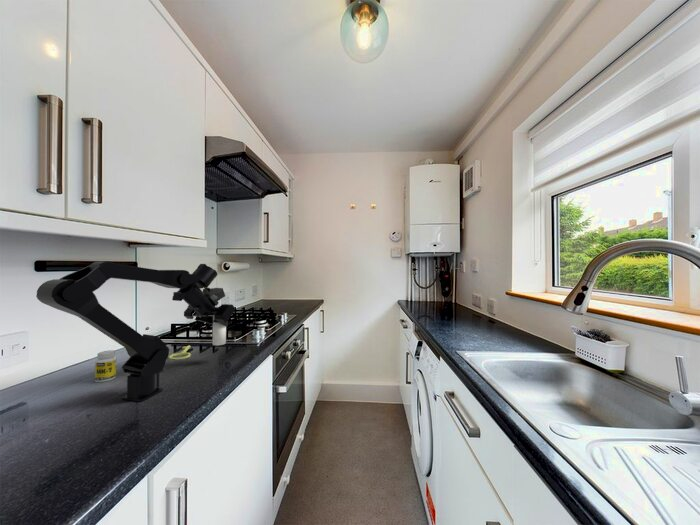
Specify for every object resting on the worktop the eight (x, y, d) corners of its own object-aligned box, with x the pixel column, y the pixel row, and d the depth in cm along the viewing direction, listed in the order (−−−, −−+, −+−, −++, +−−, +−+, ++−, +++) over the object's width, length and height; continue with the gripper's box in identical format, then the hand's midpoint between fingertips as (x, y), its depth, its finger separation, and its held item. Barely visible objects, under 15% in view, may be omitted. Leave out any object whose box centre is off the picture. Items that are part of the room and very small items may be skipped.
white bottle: (220, 345, 92) (221, 308, 92) (209, 345, 93) (210, 307, 93) (228, 342, 96) (228, 306, 96) (218, 341, 97) (218, 306, 97)
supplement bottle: (92, 383, 77) (93, 355, 77) (97, 378, 81) (97, 351, 81) (114, 380, 79) (114, 352, 80) (117, 374, 83) (118, 348, 84)
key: (190, 349, 110) (190, 344, 110) (190, 358, 99) (190, 353, 99) (169, 352, 106) (169, 347, 106) (167, 362, 96) (167, 356, 96)
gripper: (231, 281, 88) (253, 308, 98) (191, 280, 94) (216, 305, 104) (211, 307, 80) (237, 334, 90) (170, 304, 87) (198, 329, 97)
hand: (222, 324), depth 96 cm, fingers closed on white bottle, 4 cm apart
